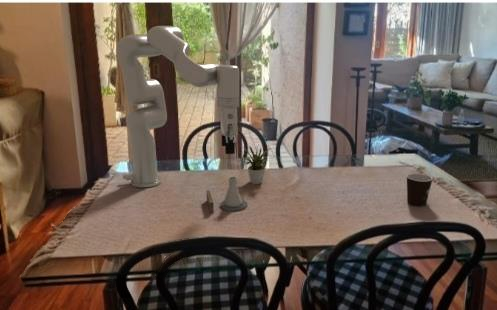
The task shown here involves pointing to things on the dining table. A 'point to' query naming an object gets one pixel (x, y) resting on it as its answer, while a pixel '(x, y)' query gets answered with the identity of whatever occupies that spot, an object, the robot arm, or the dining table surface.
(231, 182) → the flask
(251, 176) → the house plant
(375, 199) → the dining table surface
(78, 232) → the dining table surface
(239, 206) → the grey flat disc
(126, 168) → the dining table surface
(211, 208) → the wooden plank
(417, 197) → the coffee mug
